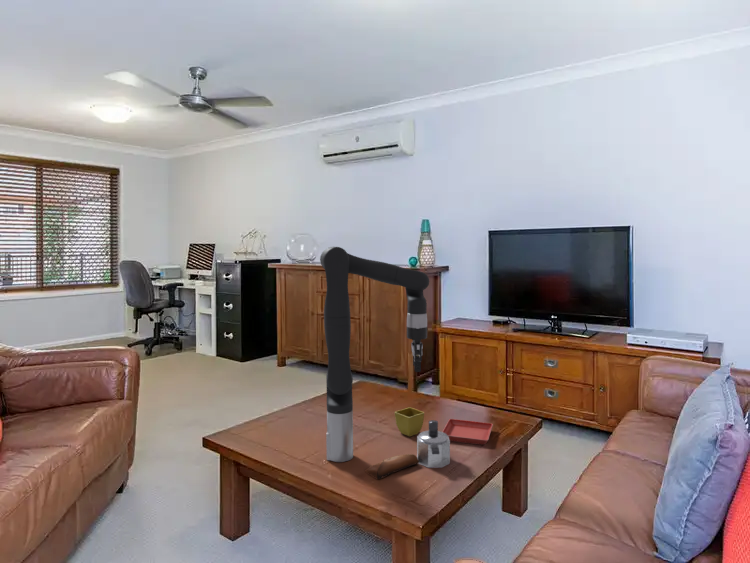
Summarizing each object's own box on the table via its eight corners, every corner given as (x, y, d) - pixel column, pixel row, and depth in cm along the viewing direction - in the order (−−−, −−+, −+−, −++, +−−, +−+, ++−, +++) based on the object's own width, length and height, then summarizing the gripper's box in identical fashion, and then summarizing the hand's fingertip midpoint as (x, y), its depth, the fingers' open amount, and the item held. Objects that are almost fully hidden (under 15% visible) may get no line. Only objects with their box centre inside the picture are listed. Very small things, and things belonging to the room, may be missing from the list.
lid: (420, 448, 171) (420, 427, 170) (417, 437, 181) (418, 416, 180) (449, 448, 171) (449, 427, 170) (445, 437, 181) (445, 416, 180)
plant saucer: (488, 448, 187) (488, 439, 187) (440, 442, 193) (440, 434, 193) (493, 431, 204) (493, 423, 204) (449, 426, 210) (449, 418, 210)
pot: (419, 471, 168) (419, 448, 167) (415, 450, 185) (415, 429, 184) (452, 471, 168) (452, 448, 167) (445, 450, 185) (445, 429, 184)
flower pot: (408, 439, 195) (408, 417, 194) (394, 433, 202) (394, 411, 201) (424, 434, 201) (425, 412, 200) (409, 428, 207) (409, 407, 207)
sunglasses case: (402, 456, 179) (408, 443, 176) (413, 472, 175) (420, 459, 172) (362, 471, 168) (368, 458, 165) (374, 488, 164) (380, 475, 161)
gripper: (405, 322, 191) (405, 364, 192) (407, 328, 177) (407, 373, 178) (425, 322, 191) (425, 364, 192) (429, 328, 177) (428, 373, 178)
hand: (416, 368), depth 185 cm, fingers open, 8 cm apart
